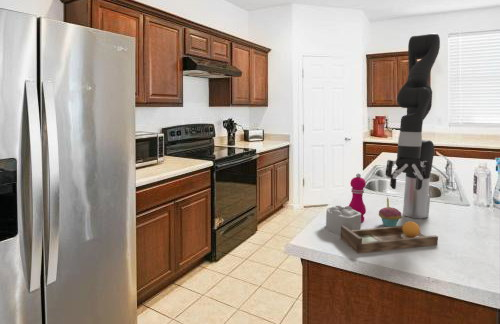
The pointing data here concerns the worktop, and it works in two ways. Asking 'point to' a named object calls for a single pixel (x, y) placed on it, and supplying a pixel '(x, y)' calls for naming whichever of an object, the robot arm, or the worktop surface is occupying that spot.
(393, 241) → the wooden tray
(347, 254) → the worktop surface
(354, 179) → the pepper mill
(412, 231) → the ball
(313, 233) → the worktop surface
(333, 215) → the lumpy-topped squat cylinder
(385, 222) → the cupcake
